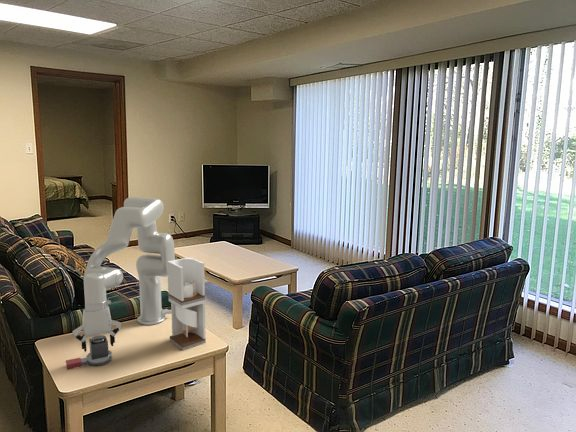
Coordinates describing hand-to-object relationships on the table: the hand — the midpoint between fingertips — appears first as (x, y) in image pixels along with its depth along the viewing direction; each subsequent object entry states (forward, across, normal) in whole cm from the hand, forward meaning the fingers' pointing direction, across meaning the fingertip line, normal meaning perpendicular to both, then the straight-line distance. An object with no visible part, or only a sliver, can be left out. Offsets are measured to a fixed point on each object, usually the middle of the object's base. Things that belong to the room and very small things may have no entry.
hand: (98, 347), depth 176 cm
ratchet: (+5, +3, 0) cm, 6 cm away
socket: (+3, 0, 0) cm, 3 cm away
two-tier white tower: (+6, -35, 0) cm, 35 cm away
